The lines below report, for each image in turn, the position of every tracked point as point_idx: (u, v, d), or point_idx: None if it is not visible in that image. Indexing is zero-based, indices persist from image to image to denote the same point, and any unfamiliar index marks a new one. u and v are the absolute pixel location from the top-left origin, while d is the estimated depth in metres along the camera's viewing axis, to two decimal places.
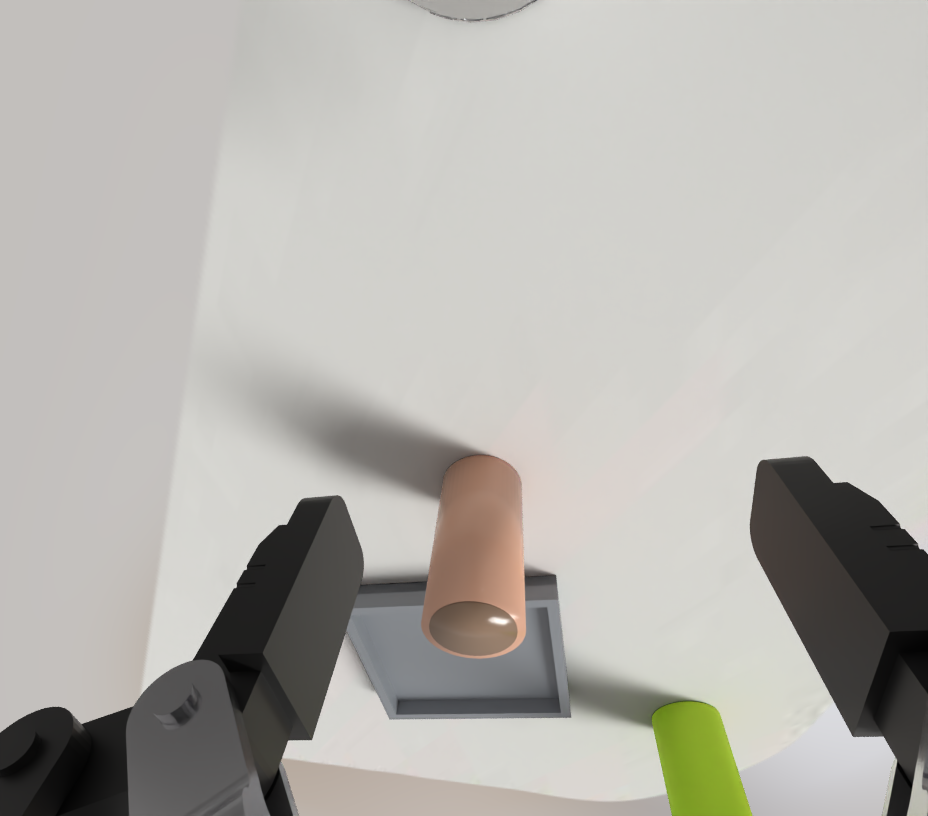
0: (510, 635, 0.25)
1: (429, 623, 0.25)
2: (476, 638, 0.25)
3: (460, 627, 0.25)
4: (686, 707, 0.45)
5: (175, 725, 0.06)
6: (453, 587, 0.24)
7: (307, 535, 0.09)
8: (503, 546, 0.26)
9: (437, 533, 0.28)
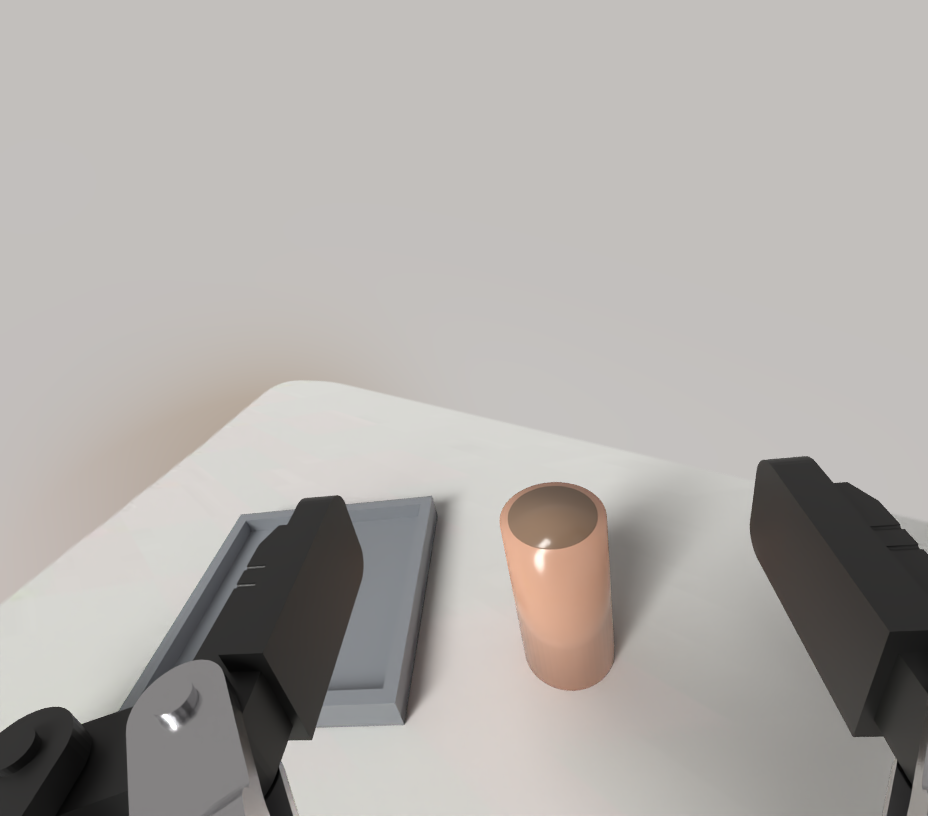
0: (543, 542, 0.23)
1: (561, 487, 0.26)
2: (538, 516, 0.25)
3: (557, 506, 0.25)
4: None
5: (175, 725, 0.06)
6: None
7: (307, 535, 0.09)
8: (601, 588, 0.25)
9: None
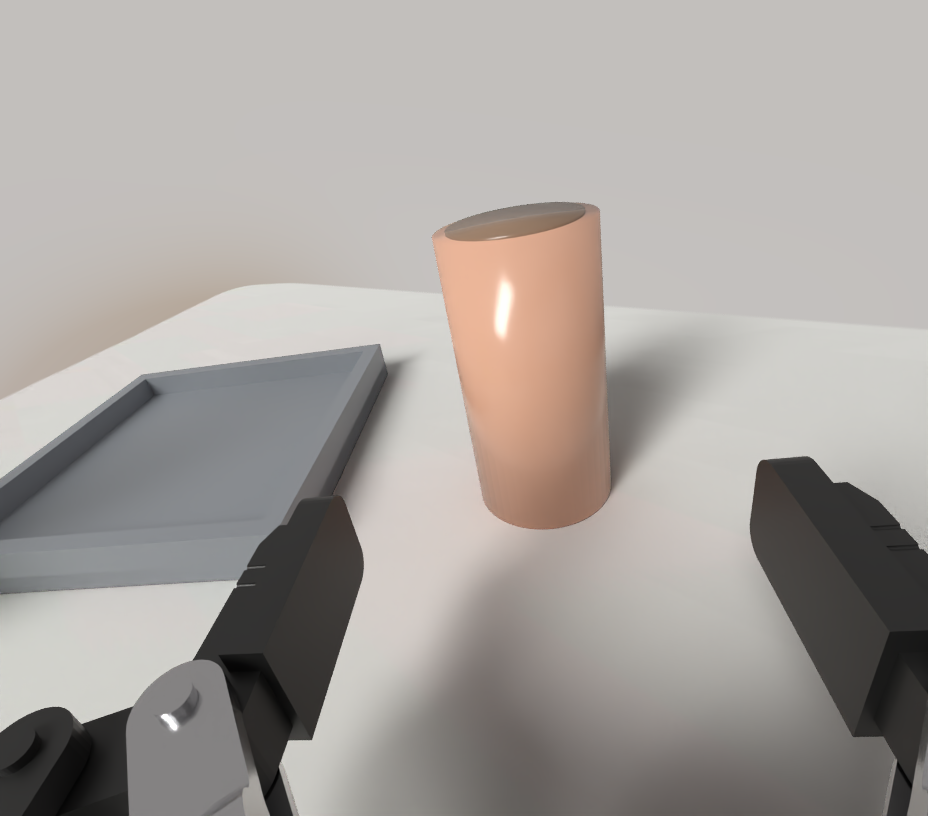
0: (495, 233, 0.14)
1: (532, 205, 0.17)
2: (492, 222, 0.16)
3: (522, 213, 0.16)
4: None
5: (175, 725, 0.06)
6: None
7: (307, 535, 0.09)
8: (589, 336, 0.16)
9: None
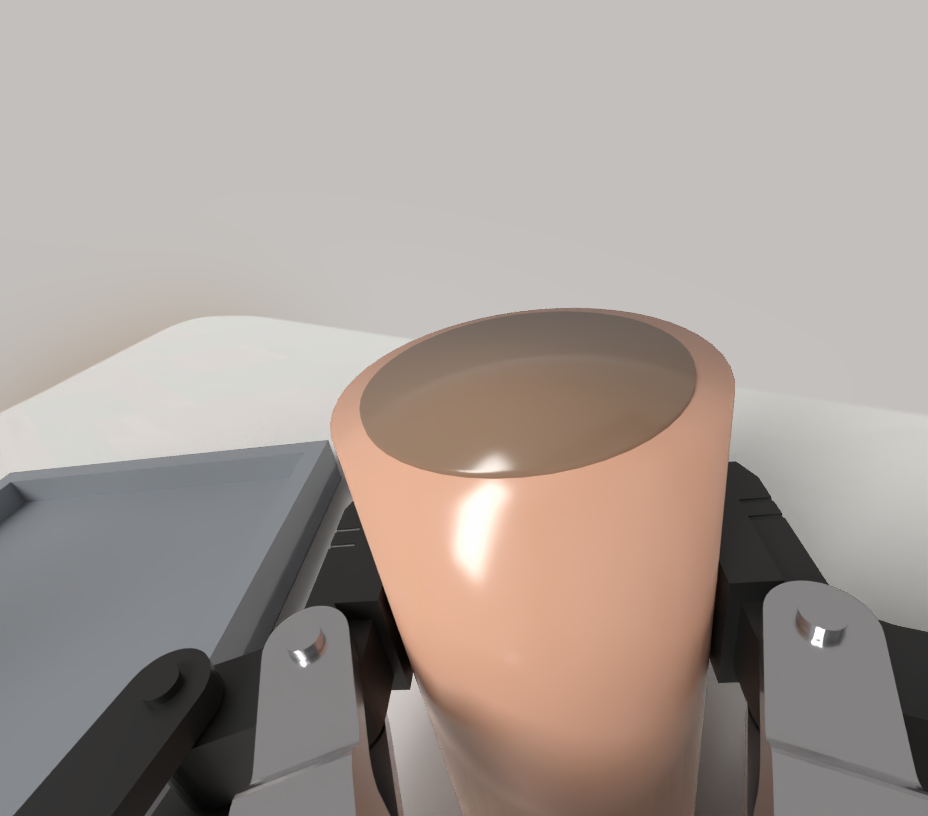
0: (473, 451, 0.05)
1: (556, 314, 0.08)
2: (470, 379, 0.07)
3: (540, 351, 0.07)
4: None
5: (310, 662, 0.07)
6: None
7: None
8: (696, 647, 0.07)
9: None
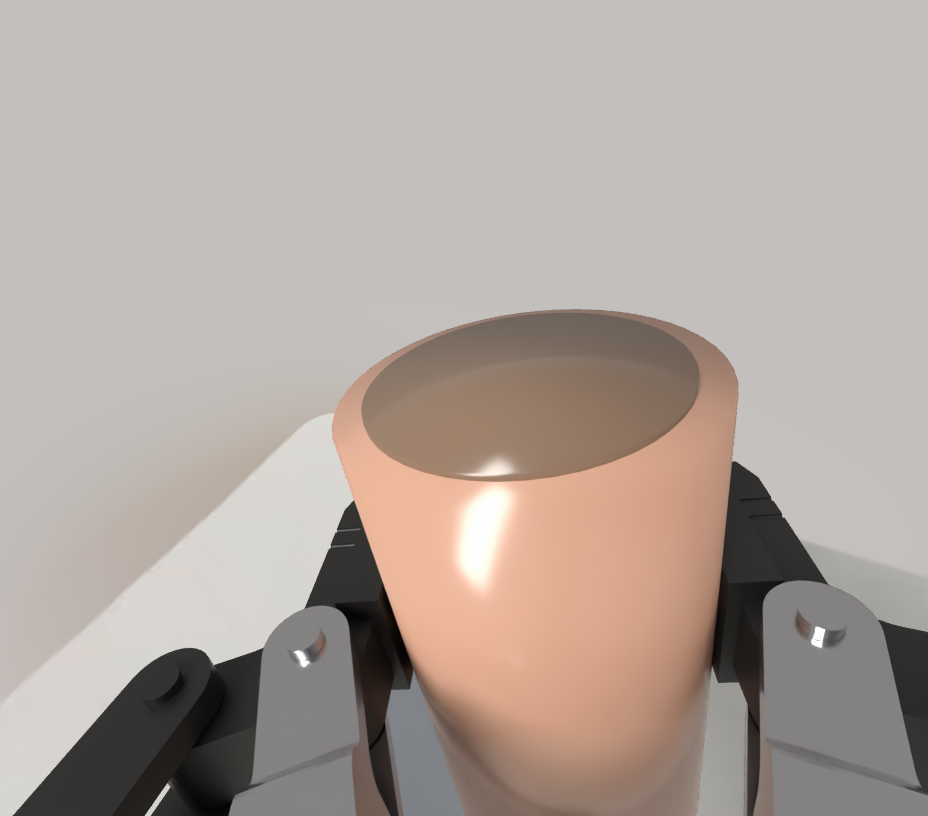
0: (476, 454, 0.05)
1: (558, 316, 0.08)
2: (472, 381, 0.07)
3: (542, 352, 0.07)
4: None
5: (310, 661, 0.07)
6: None
7: None
8: (699, 649, 0.07)
9: None
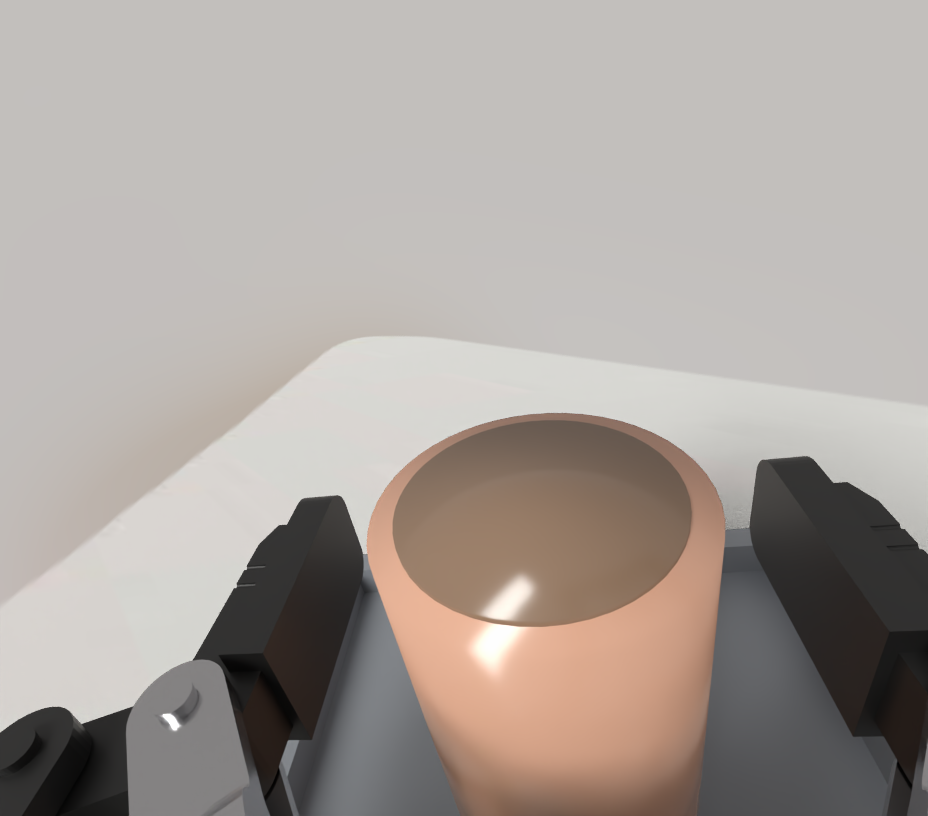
0: (498, 595, 0.06)
1: (565, 423, 0.09)
2: (490, 504, 0.08)
3: (552, 472, 0.08)
4: None
5: (175, 725, 0.06)
6: None
7: (307, 535, 0.09)
8: (693, 742, 0.08)
9: None
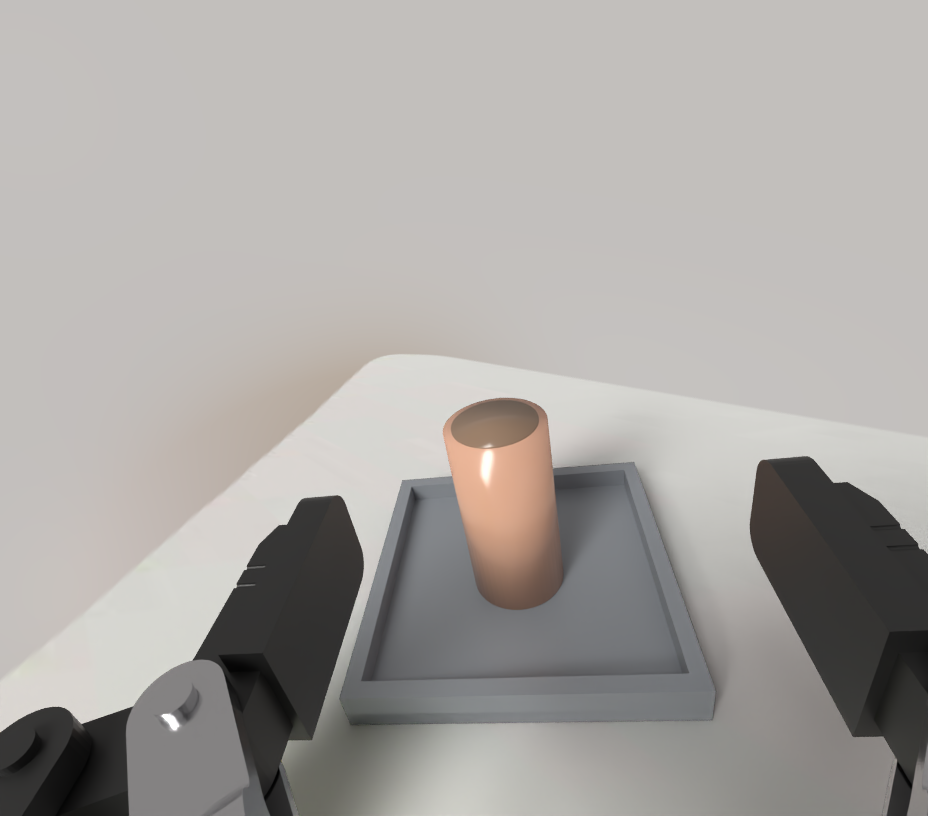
0: (482, 442, 0.23)
1: (507, 401, 0.27)
2: (481, 423, 0.25)
3: (500, 415, 0.25)
4: None
5: (175, 725, 0.06)
6: None
7: (307, 535, 0.09)
8: (542, 496, 0.25)
9: None
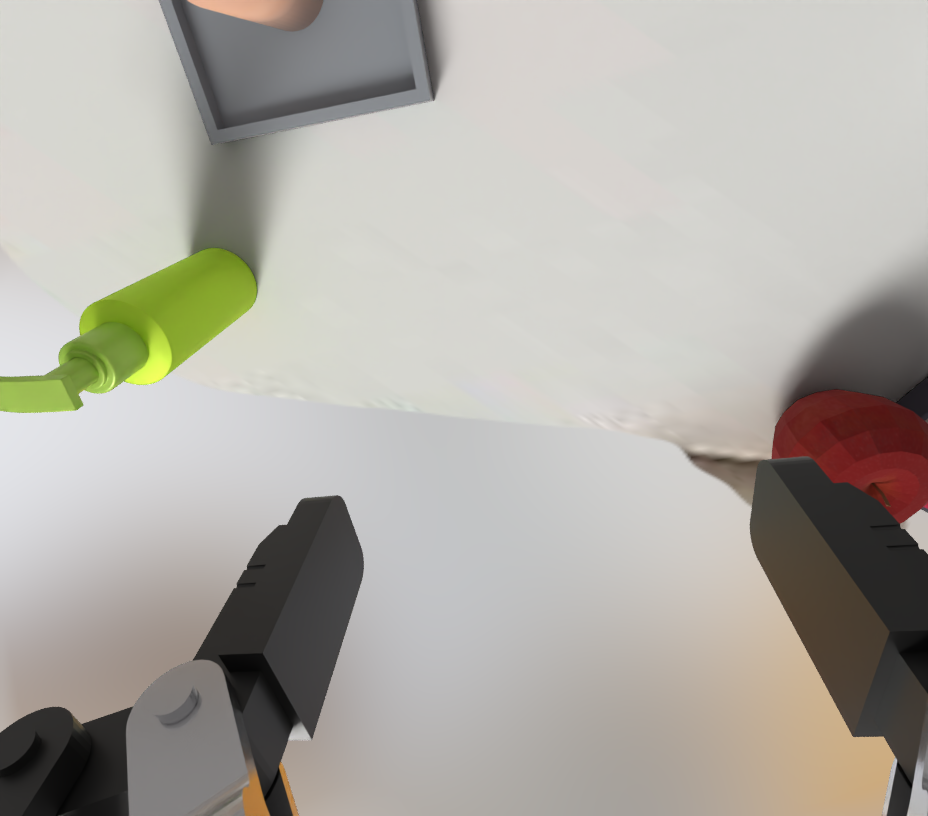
0: None
1: None
2: None
3: None
4: (250, 277, 0.44)
5: (175, 725, 0.06)
6: None
7: (307, 535, 0.09)
8: None
9: None
